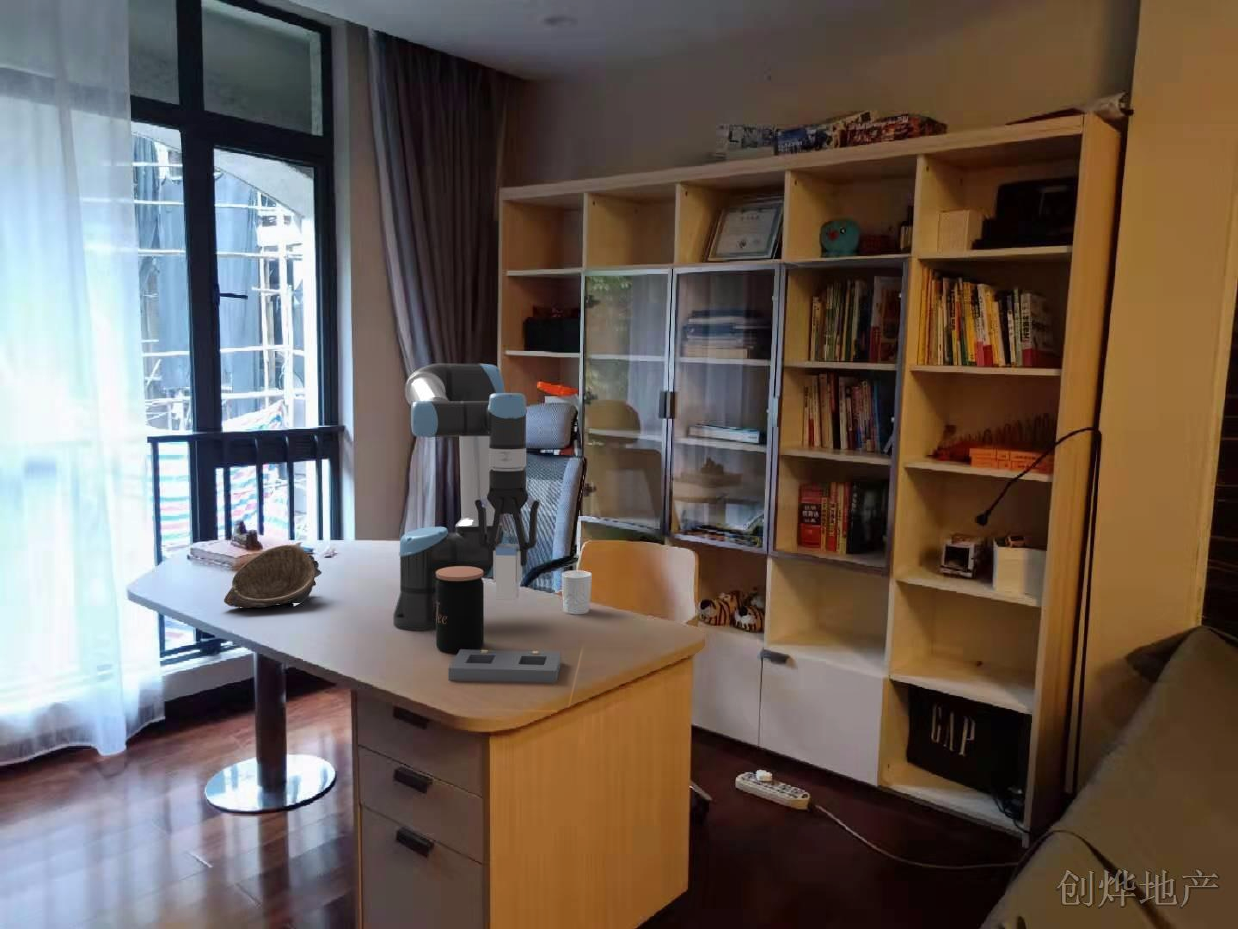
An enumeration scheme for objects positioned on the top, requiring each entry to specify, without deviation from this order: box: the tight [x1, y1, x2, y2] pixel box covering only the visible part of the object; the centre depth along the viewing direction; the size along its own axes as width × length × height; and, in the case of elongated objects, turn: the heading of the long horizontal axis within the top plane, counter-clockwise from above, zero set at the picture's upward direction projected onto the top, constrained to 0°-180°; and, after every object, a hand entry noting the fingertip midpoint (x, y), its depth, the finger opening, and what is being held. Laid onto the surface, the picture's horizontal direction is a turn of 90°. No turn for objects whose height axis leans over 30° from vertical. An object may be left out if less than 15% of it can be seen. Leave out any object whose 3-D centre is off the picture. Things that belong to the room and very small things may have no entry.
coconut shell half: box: [223, 544, 322, 609], centre depth 242 cm, size 15×16×25 cm
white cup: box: [561, 569, 593, 615], centre depth 239 cm, size 8×8×10 cm
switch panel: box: [447, 649, 562, 684], centre depth 192 cm, size 22×12×3 cm, turn 88°
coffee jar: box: [435, 566, 485, 655], centre depth 207 cm, size 11×11×18 cm
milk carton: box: [495, 543, 520, 602], centre depth 189 cm, size 4×4×11 cm
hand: (507, 580), depth 189 cm, fingers closed on milk carton, 4 cm apart
